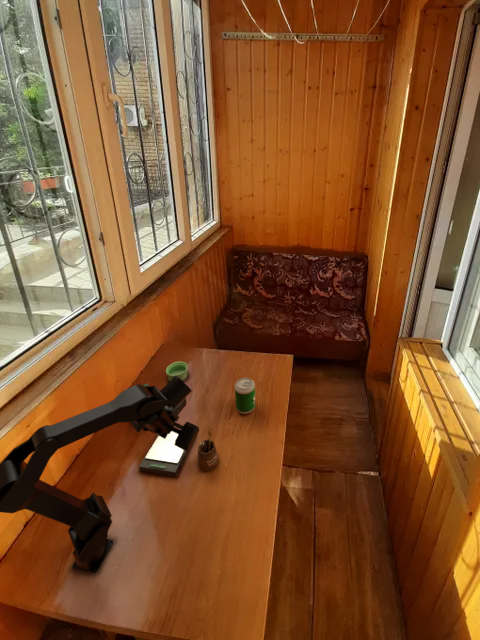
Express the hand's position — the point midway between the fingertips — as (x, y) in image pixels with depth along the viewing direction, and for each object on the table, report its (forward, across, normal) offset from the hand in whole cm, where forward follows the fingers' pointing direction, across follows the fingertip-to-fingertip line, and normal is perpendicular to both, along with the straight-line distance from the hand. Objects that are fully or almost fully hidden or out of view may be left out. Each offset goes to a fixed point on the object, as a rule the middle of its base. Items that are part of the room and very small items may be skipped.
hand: (174, 433), depth 93 cm
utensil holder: (+14, -10, +2) cm, 17 cm away
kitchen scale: (+14, +4, +4) cm, 15 cm away
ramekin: (+30, +25, -22) cm, 45 cm away
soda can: (+24, -11, -20) cm, 33 cm away
